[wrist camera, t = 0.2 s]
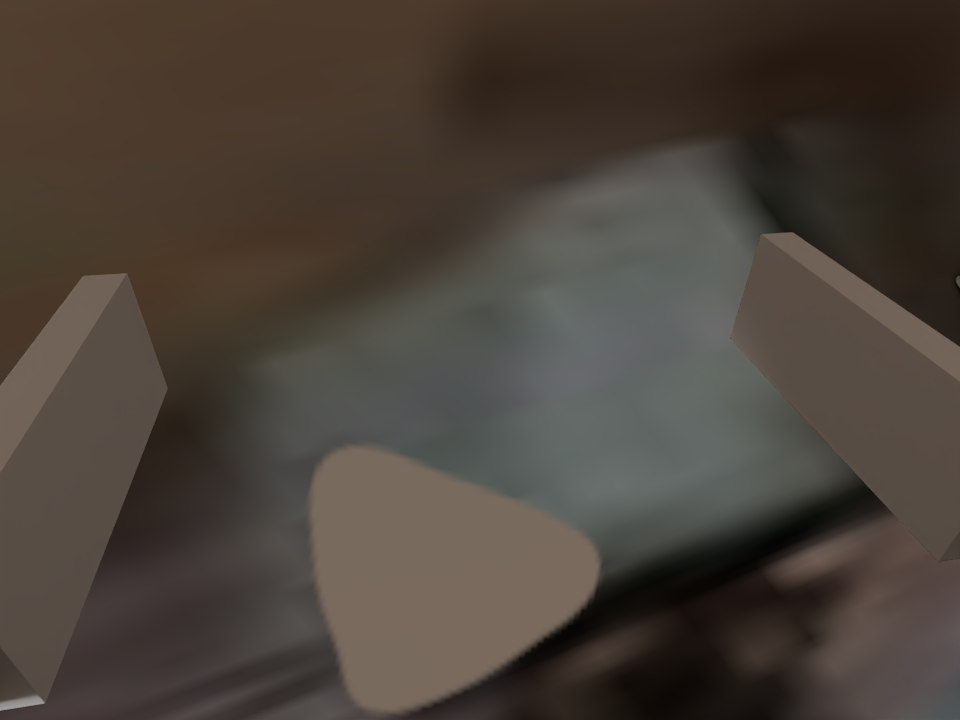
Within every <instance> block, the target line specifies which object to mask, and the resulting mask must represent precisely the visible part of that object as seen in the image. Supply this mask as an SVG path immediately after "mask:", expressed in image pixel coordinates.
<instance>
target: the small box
mask: <svg viewBox="0 0 960 720" xmlns="http://www.w3.org/2000/svg"><path fill="white" fill-rule="evenodd" d="M956 283H957V284H958V286H959V288H960V275H959V276H958V277H957V278H956Z"/></svg>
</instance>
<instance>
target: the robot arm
mask: <svg viewBox="0 0 960 720" xmlns="http://www.w3.org/2000/svg"><path fill="white" fill-rule="evenodd" d="M730 339H731V340H732V341H733V342H734V343H735V344H736V345H737V346H738V348H739V349H740V350H741V351H742V352H743V353H744V354H745V355H746V356H747V357H748V358H749V359H750V360H751V361H752V363H753V364H754V365H755V366H756V367H757V368H758V369H759V370H760V371H761V372H762V373H763V374H764V375H765V377H766V378H767V379H768V380H769V381H770V382H771V383H772V384H773V385H774V386H775V387H776V388H777V389H778V390H779V392H780V393H781V394H782V395H783V396H784V397H785V398H786V399H787V400H788V401H789V402H790V403H791V404H792V406H793V407H794V408H795V409H796V410H797V411H798V412H799V413H800V414H801V415H802V416H803V417H804V418H805V419H806V421H807V422H808V423H809V424H810V425H811V426H812V427H813V428H814V429H815V430H816V431H817V432H818V433H819V434H820V436H821V437H822V438H823V439H824V440H825V441H826V442H827V443H828V444H829V445H830V446H831V447H832V448H833V450H834V451H835V452H836V453H837V454H838V455H839V456H840V457H841V458H842V459H843V460H844V461H845V462H846V463H847V465H848V466H849V467H850V468H851V469H852V470H853V471H854V472H855V473H856V474H857V475H858V476H859V477H860V479H861V480H862V481H863V482H864V483H865V484H866V485H867V486H868V487H869V488H870V489H871V490H872V491H873V492H874V494H875V495H876V496H877V497H878V498H879V499H880V500H881V501H882V502H883V503H884V504H885V505H886V506H887V507H888V509H889V510H890V511H891V512H892V513H893V514H894V515H895V516H896V517H897V518H898V519H899V520H900V521H901V523H902V524H903V525H904V526H905V527H906V528H907V529H908V530H909V531H910V532H911V533H912V534H913V535H914V536H915V538H916V539H917V540H918V541H919V542H920V543H921V544H922V545H923V546H924V547H925V548H926V549H927V550H928V552H929V553H930V554H931V555H932V556H933V557H934V558H935V559H936V560H937V561H938V562H941V561H947V560H953V559H960V346H959V345H957V344H955V343H953V342H952V341H950V340H949V339H948V338H946V337H945V336H943V335H942V334H940V333H939V332H937V331H936V330H934V329H933V328H931V327H930V326H929V325H927V324H926V323H924V322H923V321H921V320H920V319H918V318H917V317H915V316H914V315H912V314H911V313H910V312H908V311H907V310H905V309H904V308H902V307H901V306H899V305H898V304H896V303H895V302H893V301H892V300H891V299H889V298H888V297H886V296H885V295H883V294H882V293H880V292H879V291H877V290H876V289H875V288H873V287H872V286H870V285H869V284H867V283H866V282H864V281H863V280H861V279H860V278H858V277H857V276H856V275H854V274H853V273H851V272H850V271H848V270H847V269H845V268H844V267H842V266H841V265H839V264H838V263H837V262H835V261H834V260H832V259H831V258H829V257H828V256H826V255H825V254H823V253H822V252H820V251H819V250H818V249H816V248H815V247H813V246H812V245H810V244H809V243H807V242H806V241H804V240H803V239H801V238H800V237H799V236H797V235H796V234H794V233H793V232H791V233H775V234H761V237H760V240H759V244H758V247H757V250H756V254H755V257H754V260H753V264H752V267H751V270H750V274H749V277H748V280H747V284H746V287H745V290H744V294H743V297H742V300H741V304H740V307H739V310H738V314H737V317H736V320H735V324H734V327H733V330H732V334H731V337H730ZM167 389H168V388H167V386H166V383H165V380H164V377H163V374H162V371H161V369H160V366H159V363H158V360H157V357H156V354H155V351H154V349H153V346H152V343H151V340H150V337H149V334H148V332H147V329H146V326H145V323H144V320H143V317H142V314H141V312H140V309H139V306H138V303H137V300H136V297H135V295H134V292H133V289H132V286H131V283H130V280H129V278H128V275H127V273H125V274H109V275H93V276H83V277H82V278H81V280H80V281H79V282H78V284H77V285H76V286H75V288H74V289H73V290H72V292H71V293H70V294H69V296H68V297H67V298H66V300H65V301H64V302H63V303H62V305H61V306H60V307H59V309H58V310H57V311H56V313H55V314H54V315H53V317H52V318H51V319H50V321H49V322H48V323H47V325H46V326H45V327H44V329H43V330H42V331H41V333H40V334H39V335H38V337H37V338H36V339H35V340H34V342H33V343H32V344H31V346H30V347H29V348H28V350H27V351H26V352H25V354H24V355H23V356H22V358H21V359H20V360H19V362H18V363H17V364H16V366H15V367H14V368H13V370H12V371H11V372H10V374H9V375H8V376H7V377H6V379H5V380H4V381H3V383H2V384H1V385H0V710H6V709H12V708H19V707H25V706H31V705H38V704H44V703H45V702H46V700H47V697H48V695H49V692H50V689H51V687H52V684H53V682H54V679H55V677H56V674H57V671H58V669H59V666H60V664H61V661H62V659H63V656H64V653H65V651H66V648H67V646H68V643H69V641H70V638H71V635H72V633H73V630H74V628H75V625H76V623H77V620H78V617H79V615H80V612H81V610H82V607H83V605H84V602H85V599H86V597H87V594H88V592H89V589H90V587H91V584H92V581H93V579H94V576H95V574H96V571H97V569H98V566H99V563H100V561H101V558H102V556H103V553H104V551H105V548H106V546H107V543H108V540H109V538H110V535H111V533H112V530H113V528H114V525H115V522H116V520H117V517H118V515H119V512H120V510H121V507H122V504H123V502H124V499H125V497H126V494H127V492H128V489H129V486H130V484H131V481H132V479H133V476H134V474H135V471H136V468H137V466H138V463H139V461H140V458H141V456H142V453H143V450H144V448H145V445H146V443H147V440H148V438H149V435H150V432H151V430H152V427H153V425H154V422H155V420H156V417H157V414H158V412H159V409H160V407H161V404H162V402H163V399H164V396H165V394H166V391H167Z"/></svg>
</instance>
